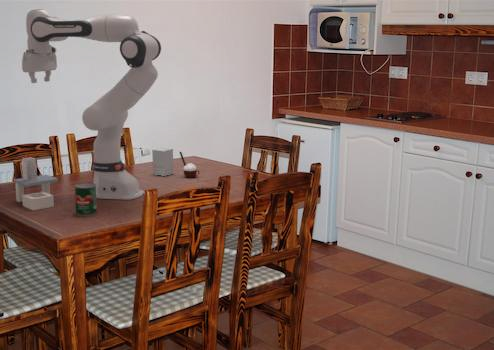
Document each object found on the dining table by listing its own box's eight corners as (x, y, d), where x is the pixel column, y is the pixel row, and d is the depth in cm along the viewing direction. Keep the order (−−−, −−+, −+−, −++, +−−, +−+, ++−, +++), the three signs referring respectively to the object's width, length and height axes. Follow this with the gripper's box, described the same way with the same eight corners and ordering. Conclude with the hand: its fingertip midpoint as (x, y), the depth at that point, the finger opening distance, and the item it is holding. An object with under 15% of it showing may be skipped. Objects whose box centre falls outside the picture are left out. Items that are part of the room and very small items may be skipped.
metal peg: (37, 180, 266) (35, 158, 264) (27, 182, 263) (26, 159, 261) (32, 178, 269) (31, 157, 267) (23, 180, 266) (21, 158, 264)
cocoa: (200, 177, 317) (202, 153, 315) (192, 179, 312) (194, 154, 309) (185, 174, 322) (186, 150, 320) (177, 176, 317) (178, 151, 314)
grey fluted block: (173, 174, 322) (173, 148, 320) (164, 177, 316) (163, 151, 314) (162, 172, 326) (161, 147, 324) (152, 175, 320) (151, 149, 317)
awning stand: (69, 203, 266) (68, 182, 264) (32, 210, 256) (31, 187, 254) (47, 195, 279) (46, 174, 277) (12, 201, 269) (10, 179, 267)
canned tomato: (77, 216, 248) (76, 188, 245) (74, 211, 255) (72, 183, 252) (98, 214, 251) (97, 186, 248) (94, 209, 258) (93, 182, 256)
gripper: (30, 49, 268) (32, 84, 271) (58, 48, 287) (60, 80, 290) (17, 49, 270) (19, 83, 273) (46, 48, 289) (47, 80, 292)
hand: (40, 82), depth 281 cm, fingers open, 8 cm apart
